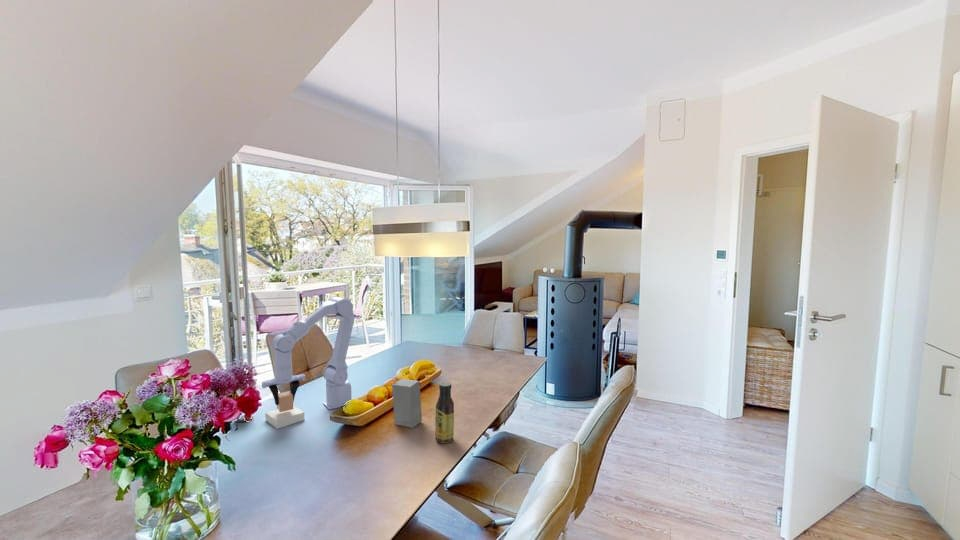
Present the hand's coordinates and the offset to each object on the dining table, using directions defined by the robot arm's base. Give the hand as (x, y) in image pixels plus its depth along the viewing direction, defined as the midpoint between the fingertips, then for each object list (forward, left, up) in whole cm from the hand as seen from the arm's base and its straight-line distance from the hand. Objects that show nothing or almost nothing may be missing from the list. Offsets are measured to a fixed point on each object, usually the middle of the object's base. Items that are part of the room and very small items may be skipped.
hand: (284, 402), depth 154 cm
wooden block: (0, 0, -2) cm, 2 cm away
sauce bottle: (-39, +49, -7) cm, 63 cm away
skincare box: (-35, +30, -7) cm, 47 cm away
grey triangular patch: (+12, -10, -7) cm, 17 cm away
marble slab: (0, 0, -7) cm, 7 cm away
